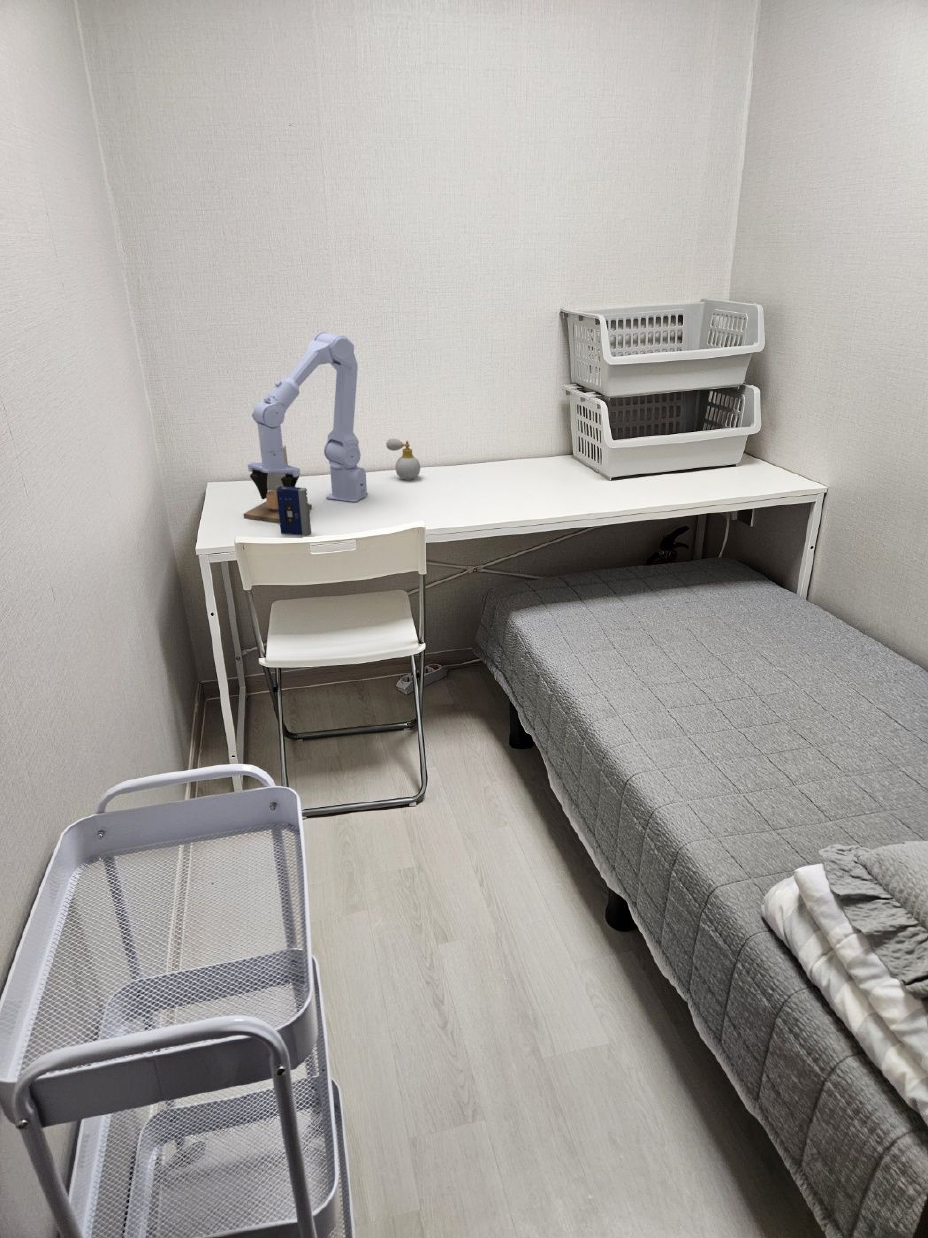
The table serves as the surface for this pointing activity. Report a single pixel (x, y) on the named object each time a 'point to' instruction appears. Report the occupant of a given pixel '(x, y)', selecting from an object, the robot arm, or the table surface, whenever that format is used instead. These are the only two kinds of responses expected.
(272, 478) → the skincare box
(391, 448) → the perfume bottle
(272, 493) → the cap
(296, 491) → the cassette player
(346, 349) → the robot arm
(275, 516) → the stud block
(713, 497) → the table surface
